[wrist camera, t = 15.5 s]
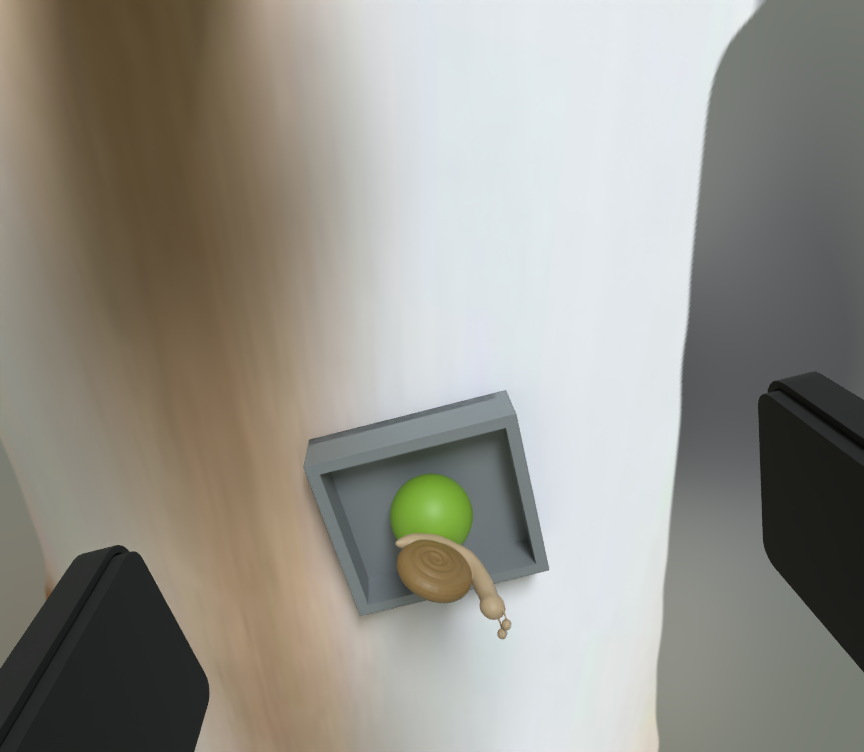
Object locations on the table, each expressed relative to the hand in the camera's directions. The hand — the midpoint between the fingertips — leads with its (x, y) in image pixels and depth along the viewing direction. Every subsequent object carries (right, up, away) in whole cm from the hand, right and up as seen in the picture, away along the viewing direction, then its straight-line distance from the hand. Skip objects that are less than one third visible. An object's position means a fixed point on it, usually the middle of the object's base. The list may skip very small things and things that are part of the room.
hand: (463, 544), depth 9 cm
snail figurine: (0, -6, +35) cm, 35 cm away
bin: (-1, -6, +35) cm, 36 cm away
